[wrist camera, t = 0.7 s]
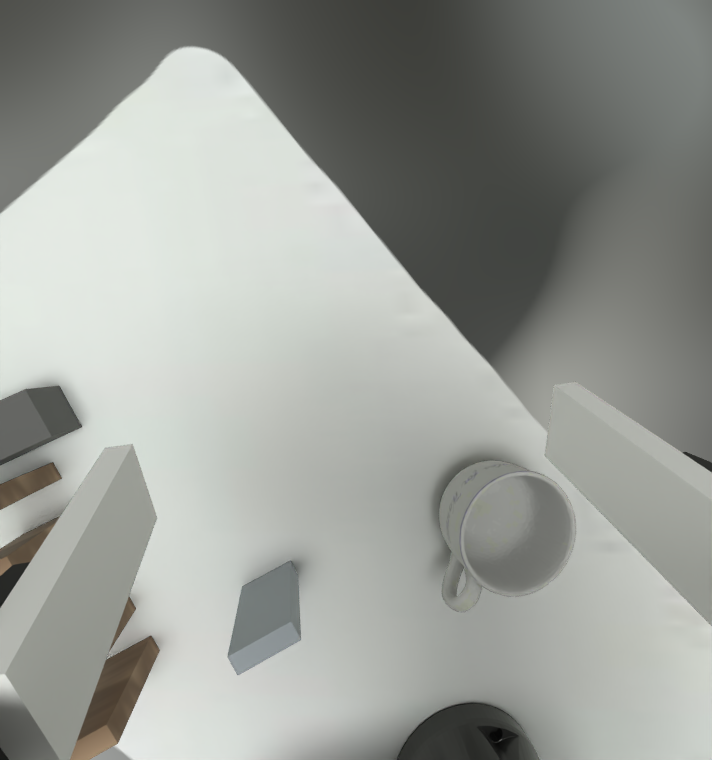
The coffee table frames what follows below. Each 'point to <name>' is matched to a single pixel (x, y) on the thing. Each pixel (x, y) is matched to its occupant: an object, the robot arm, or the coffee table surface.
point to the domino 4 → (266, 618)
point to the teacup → (503, 532)
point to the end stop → (33, 420)
